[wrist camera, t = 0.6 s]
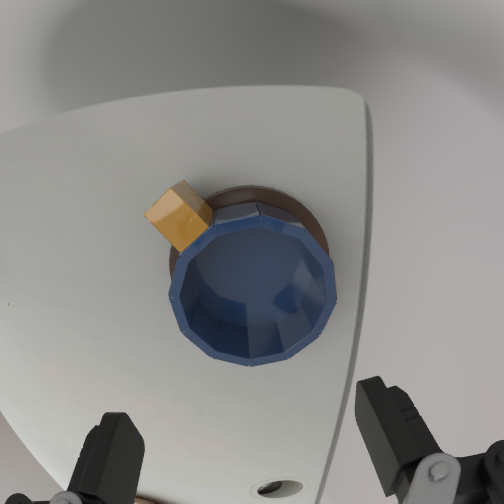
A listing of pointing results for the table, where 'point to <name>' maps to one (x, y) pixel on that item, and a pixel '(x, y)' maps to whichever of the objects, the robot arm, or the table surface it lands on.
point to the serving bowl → (244, 278)
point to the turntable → (266, 197)
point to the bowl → (142, 501)
